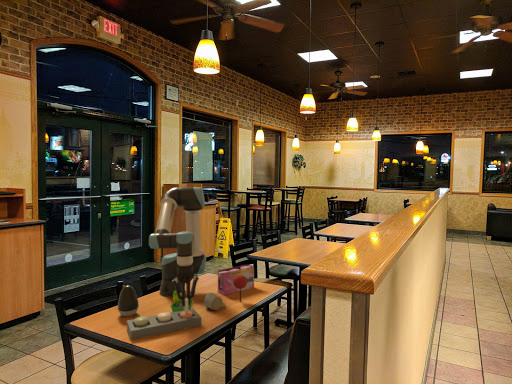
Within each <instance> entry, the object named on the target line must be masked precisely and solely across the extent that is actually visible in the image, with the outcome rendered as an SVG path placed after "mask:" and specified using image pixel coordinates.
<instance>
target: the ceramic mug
mask: <svg viewBox="0 0 512 384" xmlns="http://www.w3.org/2000/svg"><path fill="white" fill-rule="evenodd" d="M203 304H204V306H205V307H206V308H209V309H210V310H212V311H218V310H220V309H221V307H223V308H225V307H226V303H224V302H223V299H222V298H221V297H220V296H218V295H217V294H215V293H213V292H209V293H207V294H206V295H205V297H204V299H203Z"/></svg>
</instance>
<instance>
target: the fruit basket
mask: <svg viewBox="0 0 512 384" xmlns="http://www.w3.org/2000/svg"><path fill="white" fill-rule="evenodd" d="M180 294H181V293H180ZM172 300H173V303H172V304H171V305H170V308H171V311H172V312H177V311H183V310H184V306H182V300H181V299H179V298H178V296H177V293H176V291H174V292H173V296H172ZM193 303H194V300H193V299H190V305H189V306H188V309H192V306H193ZM172 312H171V313H172Z"/></svg>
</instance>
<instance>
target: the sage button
mask: <svg viewBox="0 0 512 384" xmlns="http://www.w3.org/2000/svg"><path fill="white" fill-rule="evenodd" d="M148 317H149V316H138V317H136V318H134V319H135V320H134V323H135V326H136V327H141V326H146V325H148Z"/></svg>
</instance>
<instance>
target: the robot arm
mask: <svg viewBox="0 0 512 384" xmlns="http://www.w3.org/2000/svg"><path fill="white" fill-rule="evenodd" d="M159 206H160V211H159V215H158V220H157V223H156V227H155V228H156V229H155V232H154V233H151V234H150V235H149V237H148V246H149V247H150V248H149V249H153V250H155V249H157V250H160V249H162V250H163V249H176V253H175V252H174V253H170V254H166V255H164V256H163V257H162V258H161V274H162V275H161V278H162V279H161V284H160V286H159V294H160V295H161V296H164V297H165V296H166V297H170V296H171V297H173V292H174V291H176V293H177V296H178V298H179V299H181V300H182V306H184V312H185V313H189V312H188V306H189V305H190V300H192V298H194V297H195V295H196V294H195V292H196V288H197V284H198V281H199V277H198V275H203V274H205V272H206V263H207V262H206V261H207V255H206V254H205V253H204V251H203V250H202V233H201V232H202V231H201V227H202V226H201V212H202V210H204V209H203V208H205V206H206V202H205V194H204V190H203V188H202V187H199V186H181V187H180V186H179V187H172V188H170V189H169V190H167V191H166V192H165V193H164V194H163V195H162V197H161V199H160V203H159ZM178 207H179V208H182V211H184V212H185V229H186V230H185V231H180V232H176V233H175V232H174V233H171V232H172V225H173V220H174V214H175V210H176V209H177V208H178ZM191 282H192V284H191ZM180 293H181V294H180Z"/></svg>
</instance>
